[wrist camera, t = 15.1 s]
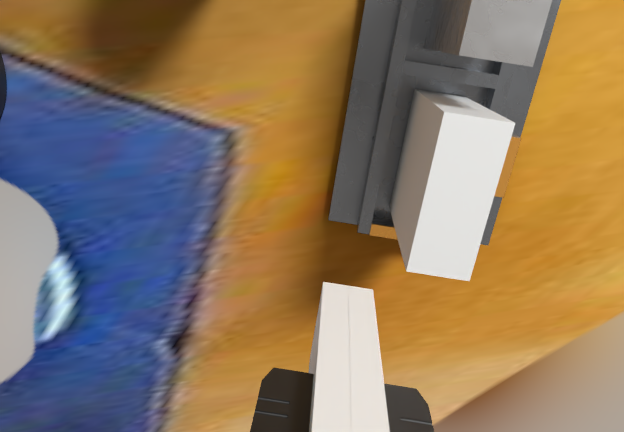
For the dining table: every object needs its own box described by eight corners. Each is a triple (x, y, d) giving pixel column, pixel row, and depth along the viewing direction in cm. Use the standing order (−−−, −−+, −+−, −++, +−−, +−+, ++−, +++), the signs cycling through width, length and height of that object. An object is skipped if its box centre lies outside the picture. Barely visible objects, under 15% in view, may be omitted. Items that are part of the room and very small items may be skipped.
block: (389, 207, 42) (406, 271, 31) (414, 88, 39) (444, 111, 28) (435, 215, 42) (469, 281, 31) (465, 96, 39) (515, 122, 28)
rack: (328, 215, 44) (323, 286, 32) (389, -143, 35) (415, -240, 22) (484, 239, 44) (539, 320, 32) (587, -112, 35) (723, -192, 22)
